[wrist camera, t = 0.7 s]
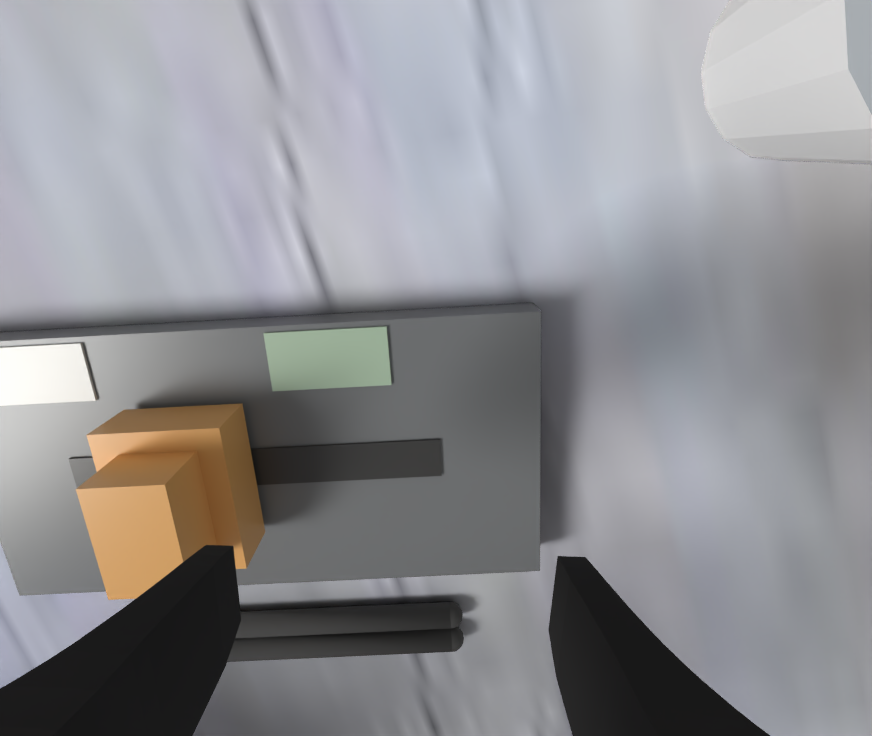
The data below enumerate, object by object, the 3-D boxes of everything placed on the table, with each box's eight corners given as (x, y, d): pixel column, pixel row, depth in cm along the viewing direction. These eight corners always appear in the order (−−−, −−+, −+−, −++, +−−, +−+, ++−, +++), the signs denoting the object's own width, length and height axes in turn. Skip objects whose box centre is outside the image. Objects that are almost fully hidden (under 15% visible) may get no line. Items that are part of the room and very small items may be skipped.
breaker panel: (47, 569, 22) (17, 597, 20) (-32, 333, 19) (-73, 345, 17) (532, 546, 22) (540, 572, 20) (532, 302, 18) (541, 312, 17)
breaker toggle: (156, 537, 19) (87, 620, 15) (123, 409, 18) (38, 467, 14) (265, 531, 19) (223, 614, 15) (242, 403, 18) (189, 459, 14)
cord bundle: (188, 650, 23) (178, 669, 22) (178, 609, 22) (167, 627, 21) (463, 637, 23) (464, 656, 22) (461, 595, 22) (462, 613, 21)
